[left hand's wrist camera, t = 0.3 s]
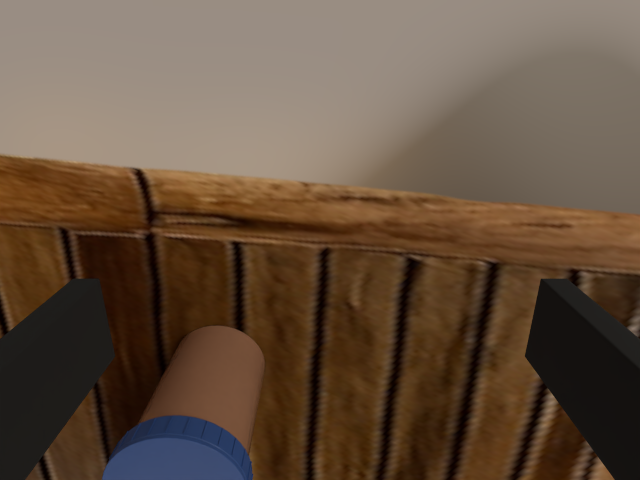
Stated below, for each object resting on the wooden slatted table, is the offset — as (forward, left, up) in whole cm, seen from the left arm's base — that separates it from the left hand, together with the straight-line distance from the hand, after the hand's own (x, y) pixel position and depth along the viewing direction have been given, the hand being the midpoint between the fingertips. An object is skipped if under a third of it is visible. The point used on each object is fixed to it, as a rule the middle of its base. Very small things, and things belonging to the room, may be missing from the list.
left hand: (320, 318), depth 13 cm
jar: (-23, +11, -28) cm, 38 cm away
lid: (-23, +11, -13) cm, 28 cm away
